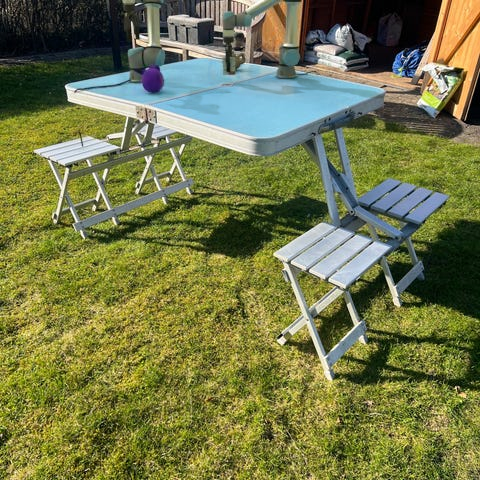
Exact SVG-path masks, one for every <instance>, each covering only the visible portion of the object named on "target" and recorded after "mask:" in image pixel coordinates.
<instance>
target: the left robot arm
mask: <svg viewBox="0 0 480 480" xmlns="http://www.w3.org/2000/svg"><path fill="white" fill-rule="evenodd" d="M164 1H165V0H122V4H123V5H122V8H123V11H124V13H123V17H124V18H123V31H124V32H125V35H126V42H127V43H132V42H133V41H132V33H131V30H130V29H131V24H132V25H133V27H134V30H133V31H134V37H135V40H137V41H139V40H141V37H140V29H141V25H140V21H139V18H138V14H137V11H136V10H137V7H136V4H135V3H137V4H144V7H145V8H146V12H147V13H146V18H147V19H146V20H147V44H146V46H145V48H144V47H143V46H140V47H134V48H130V49H127V57H128V66H129V76H128V79H127V80H125V81H122V82H119V83H116V84H107V85H95V86H87V87H83V88H82V87H81V88H76V89H75V90H74V94H75V93H77V92H78V91H84V90H91V89H98V88H110V87H117V86H121V85H124V84H126V83H133V84H142V76H143V75H141V74H139V73H137V72H135V71H134V70H147V67H150V66H154V65H158V66H159V67H163V65H164V64H165V61H166V51H165V50H164V49H163V46H162V45H161V29H160V9H161V8H162V4H164ZM78 134H79V138H80V144H81V147H84V142H83V137H82V132H81V130H78Z"/></svg>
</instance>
